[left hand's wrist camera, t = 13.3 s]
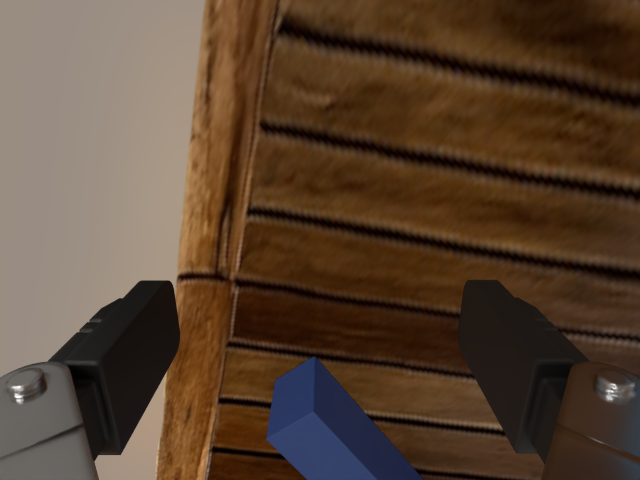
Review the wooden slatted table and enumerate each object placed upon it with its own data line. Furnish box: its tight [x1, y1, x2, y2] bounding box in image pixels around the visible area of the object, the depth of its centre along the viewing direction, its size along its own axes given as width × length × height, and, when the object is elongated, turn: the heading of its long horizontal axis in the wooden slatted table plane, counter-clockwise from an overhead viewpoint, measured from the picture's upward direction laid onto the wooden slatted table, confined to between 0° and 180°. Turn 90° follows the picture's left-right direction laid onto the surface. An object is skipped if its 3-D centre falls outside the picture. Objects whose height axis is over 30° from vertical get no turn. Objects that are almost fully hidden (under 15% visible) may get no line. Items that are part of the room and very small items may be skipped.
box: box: [266, 356, 423, 480], centre depth 48 cm, size 25×6×9 cm, turn 36°
